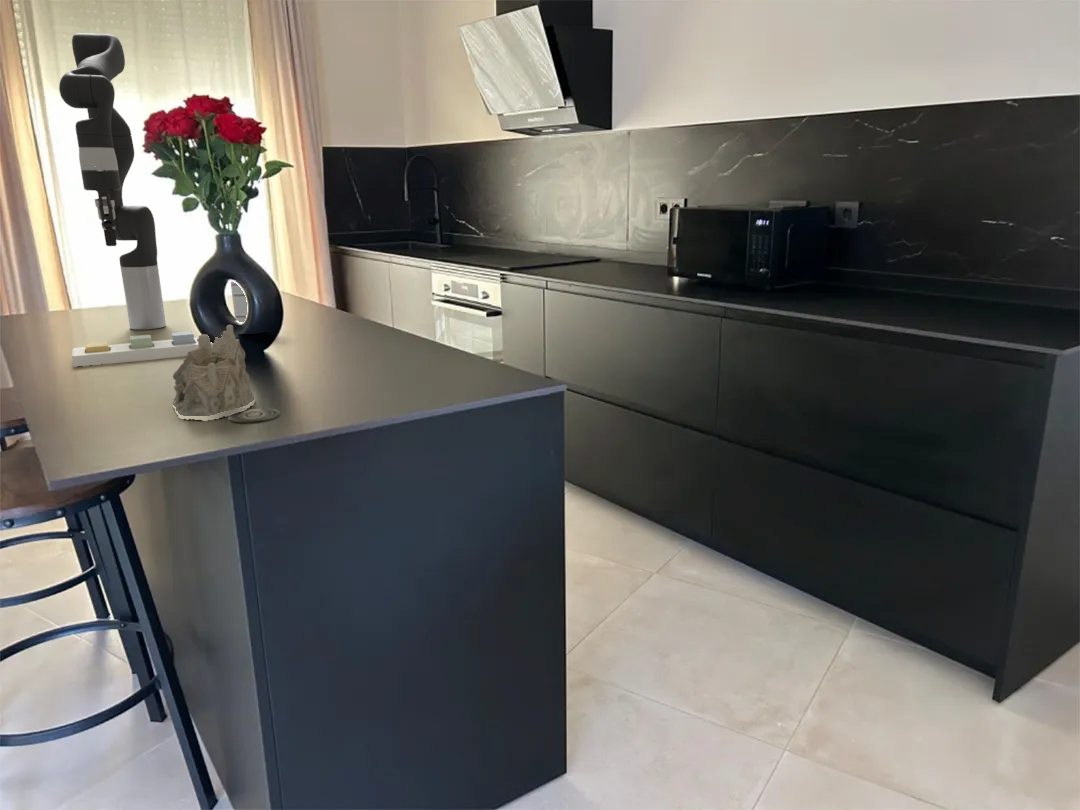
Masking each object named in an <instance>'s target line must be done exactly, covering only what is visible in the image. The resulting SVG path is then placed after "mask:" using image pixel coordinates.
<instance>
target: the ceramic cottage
mask: <svg viewBox="0 0 1080 810" xmlns="http://www.w3.org/2000/svg"><path fill="white" fill-rule="evenodd" d="M235 335H236V334H235V332H234V325H232V324H228V325H226V330H224V331H222V334H221V336H222V337H221V338H218V337H215V340H214V343H213V346H212V348H211V342H210V338H209V336H208V334H205V333H204V334H203V333H202V334H200V335H199V336H198V337H199V338H198V345H199V348H198V349H195V350H192V351H189V352H188V355H187V356H184V357H185V358H184V360H183V362H182V363H181V364H180V366H179V367H178V369H177V370H176V371H174V373H173V374H172V378H173V380H175V382H174V384H175V385H174V386H173V389H174V390H175V393H176V395H175V396H174V398H173V402H172V404H173V405H174V406H175V407H176V411H178V413H179V414H180V415H183V416H210V415H215V414H217V413H220V412H224V411H229V410H233V409H235V408H240V407H243V406H246V405H248V404H249V403H250V402H252V401H253V400H254V399H255V395H254V393H253V391H252V387H251V381H250V375H249V373H248V372H247V371H246V367H247V366H246V361H245V359H246V352H245V350H244V348H243V347H242V345H241V343H240V339H239V338H236V336H235Z"/></svg>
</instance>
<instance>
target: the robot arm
mask: <svg viewBox="0 0 1080 810" xmlns="http://www.w3.org/2000/svg"><path fill="white" fill-rule="evenodd" d="M71 47H72V53H73V57H74V62H75V65H76V68H74V69H71V70H70V71H67V72H65V73H64V74H63V75H62V77H61V78H60V81H59V85H58V86H59V87H58V89H59V94H60V97H61V99H62V101H63V102H64V103H65V104H66V105H67V106H69V107H71V108H74V109H86V111H87V115H88V118H85V119H80V120H78V121H76V123H75V132H76V133H75V134H76V139H77V145H78V161H79V166H80V172H81V179H82V185H83V189H84V190H85V191H95V192H97V195H98V198H94V204H95V207H96V208H97V214H98V215H97V216H98V219H99V220H100V221H101V228H102V230H103V233H104V239H105V246H106V247H116V246H117V245H118V244H117V241H125V242H126V241H136V247H135V248H134V249H133V250H131V251H129V252H126V253H124V254H121V255H120V256H119V265H120V272H121V277H122V278H121V279H122V284H123V285H122V286H123V291H124V292H123V293H124V299H125V304H126V312H127V318H128V323H129V329H132V330H138V331H139V330H142V331H143V330H154V329H161V328H164V327H166V326H167V323H166V322H167V321H166V315H165V308H164V307H165V306H164V300H163V292H162V287H161V280H160V279H161V278H160V272H159V271H160V270H159V266H158V247H157V238H156V237H157V236H156V223H155V218H154V215H153V213H152V210H151V209H150V208H149V207H148V206H145V205H124V202H123V186H124V183H125V180H126V177H127V176H128V174H129V172H130V169H131V167H132V164H133V162H134V159H135V148H134V142H133V137H132V133H131V129H130V127H129V125H128V123H127V122H126V120H125V119H124V118H123V116H121V114H119V112H118V111H117V110H116V109H115V108H114V104H115V103H114V102H115V96H116V95H115V88H114V85H113V83H112V80H113V79H114V78H116V77H117V76H119V74H122V72H123V71H124V70H125V65H126V59H125V52H124V48H123V45H122V42H121V41H120V39H119V38H118V37H117V36H115V35H113V34H110V33H109V34H108V33H84V32H82V33H75V34H73V35H72V39H71Z"/></svg>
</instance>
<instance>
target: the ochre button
mask: <svg viewBox="0 0 1080 810" xmlns="http://www.w3.org/2000/svg"><path fill="white" fill-rule="evenodd" d="M108 345H109V341H105V342H95V343H94V342H93V343H86V344H85V347H86V352H87V353H92V352H103V351H109V346H108Z"/></svg>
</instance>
